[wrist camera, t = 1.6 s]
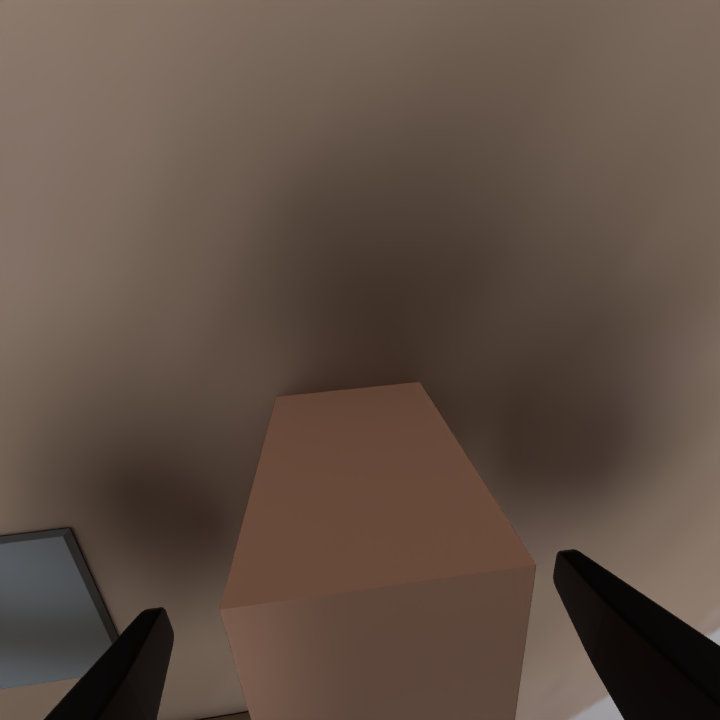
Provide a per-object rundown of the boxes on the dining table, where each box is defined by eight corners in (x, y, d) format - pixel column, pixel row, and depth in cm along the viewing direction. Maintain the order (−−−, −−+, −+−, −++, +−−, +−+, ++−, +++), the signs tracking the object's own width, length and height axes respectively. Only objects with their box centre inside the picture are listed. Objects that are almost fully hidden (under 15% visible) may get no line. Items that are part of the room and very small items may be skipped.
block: (421, 563, 13) (499, 828, 7) (306, 580, 12) (294, 869, 7) (419, 381, 10) (536, 564, 5) (276, 395, 10) (218, 609, 4)
